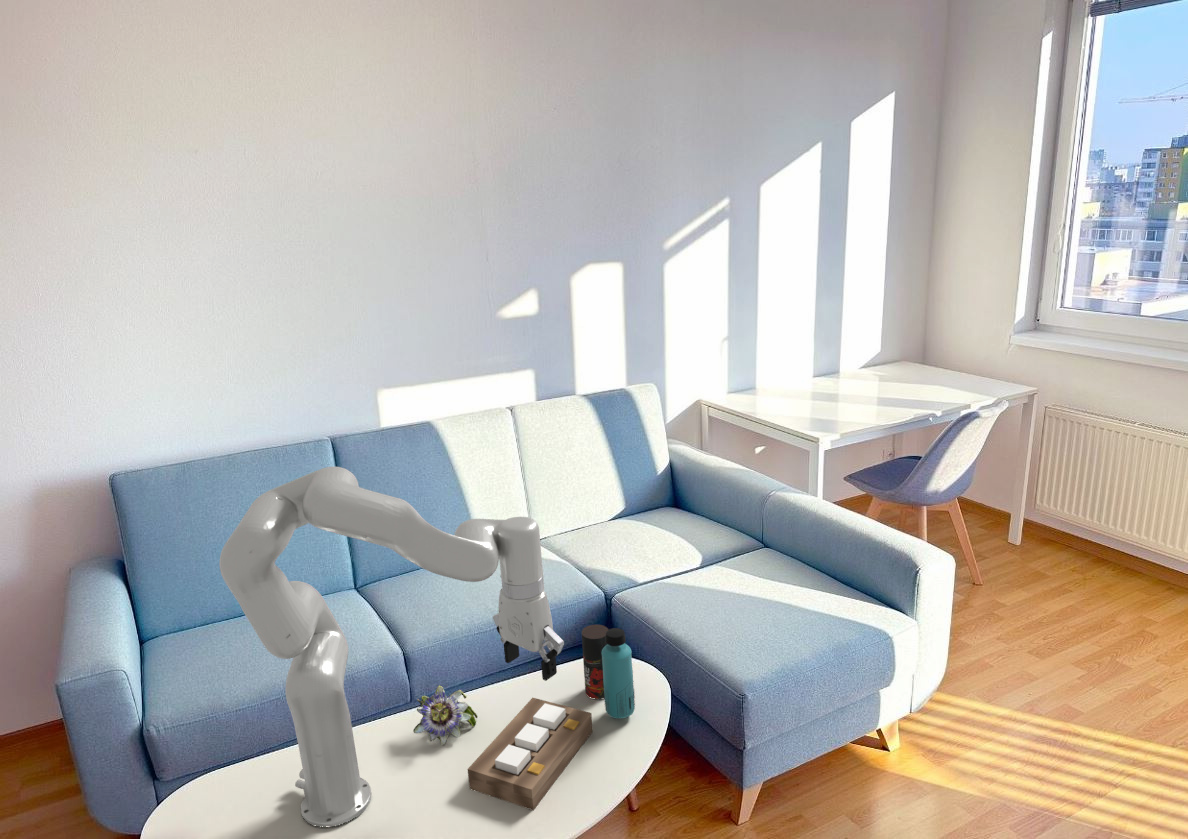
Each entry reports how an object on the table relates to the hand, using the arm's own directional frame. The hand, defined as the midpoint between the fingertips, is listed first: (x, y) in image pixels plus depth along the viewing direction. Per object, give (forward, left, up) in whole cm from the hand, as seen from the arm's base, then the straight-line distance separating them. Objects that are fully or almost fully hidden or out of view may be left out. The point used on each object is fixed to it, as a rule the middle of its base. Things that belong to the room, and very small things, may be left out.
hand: (530, 668), depth 155 cm
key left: (-3, -5, -19) cm, 19 cm away
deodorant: (-1, +27, -23) cm, 36 cm away
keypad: (-3, +2, -23) cm, 23 cm away
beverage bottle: (+7, +21, -23) cm, 32 cm away
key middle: (-3, +2, -19) cm, 19 cm away
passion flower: (-25, +3, -23) cm, 34 cm away
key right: (-3, +9, -19) cm, 21 cm away
